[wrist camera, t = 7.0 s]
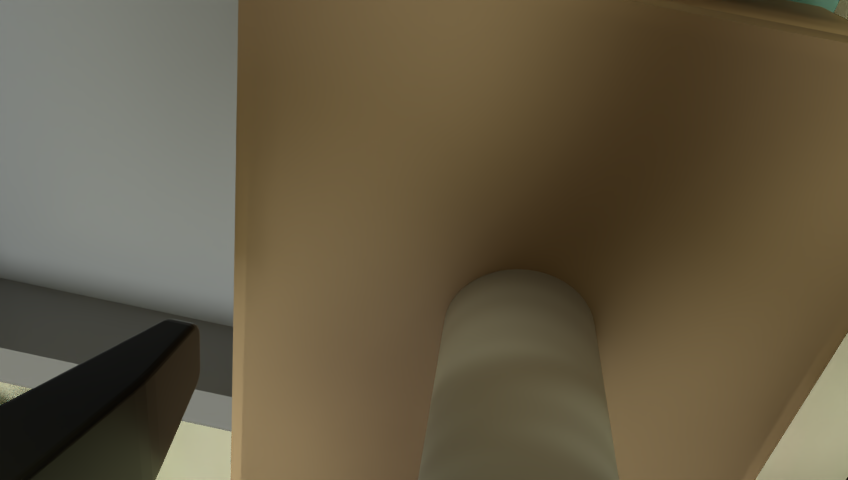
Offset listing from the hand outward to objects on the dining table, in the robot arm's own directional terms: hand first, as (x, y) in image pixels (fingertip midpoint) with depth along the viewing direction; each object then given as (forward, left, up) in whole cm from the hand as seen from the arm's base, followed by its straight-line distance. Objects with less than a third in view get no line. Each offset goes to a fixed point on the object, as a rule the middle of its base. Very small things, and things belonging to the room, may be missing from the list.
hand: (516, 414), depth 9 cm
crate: (0, 0, -7) cm, 7 cm away
